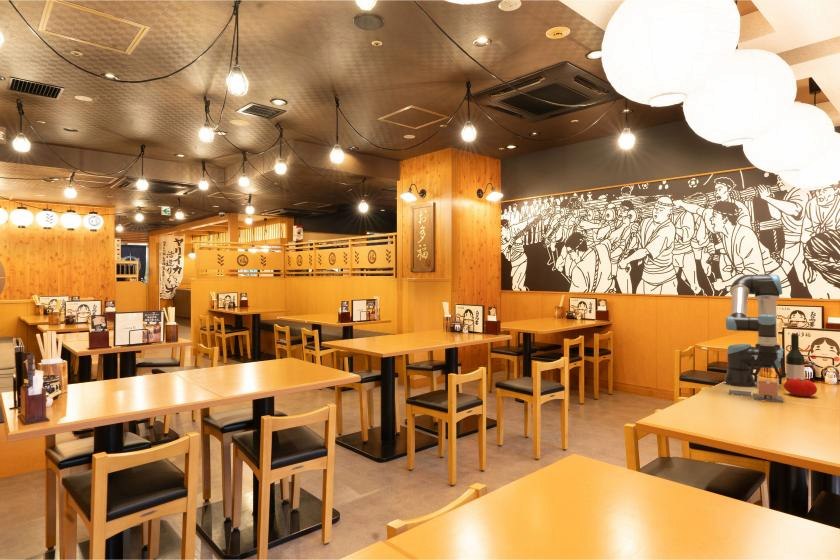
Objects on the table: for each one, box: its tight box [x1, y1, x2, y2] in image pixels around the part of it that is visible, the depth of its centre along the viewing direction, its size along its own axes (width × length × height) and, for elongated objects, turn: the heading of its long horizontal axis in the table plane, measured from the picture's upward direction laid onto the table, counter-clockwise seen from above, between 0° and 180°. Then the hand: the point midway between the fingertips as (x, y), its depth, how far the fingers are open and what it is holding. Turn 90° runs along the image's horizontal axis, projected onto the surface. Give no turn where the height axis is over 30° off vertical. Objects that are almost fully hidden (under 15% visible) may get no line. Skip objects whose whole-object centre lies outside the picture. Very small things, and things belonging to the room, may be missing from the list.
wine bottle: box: [785, 332, 806, 381], centre depth 282 cm, size 8×8×30 cm
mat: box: [728, 389, 752, 397], centre depth 264 cm, size 10×10×1 cm
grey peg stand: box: [752, 392, 785, 404], centre depth 251 cm, size 12×12×7 cm
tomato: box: [783, 379, 818, 397], centre depth 258 cm, size 14×13×9 cm
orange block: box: [758, 378, 779, 396], centre depth 251 cm, size 8×8×7 cm
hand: (767, 389), depth 251 cm, fingers closed on orange block, 8 cm apart
